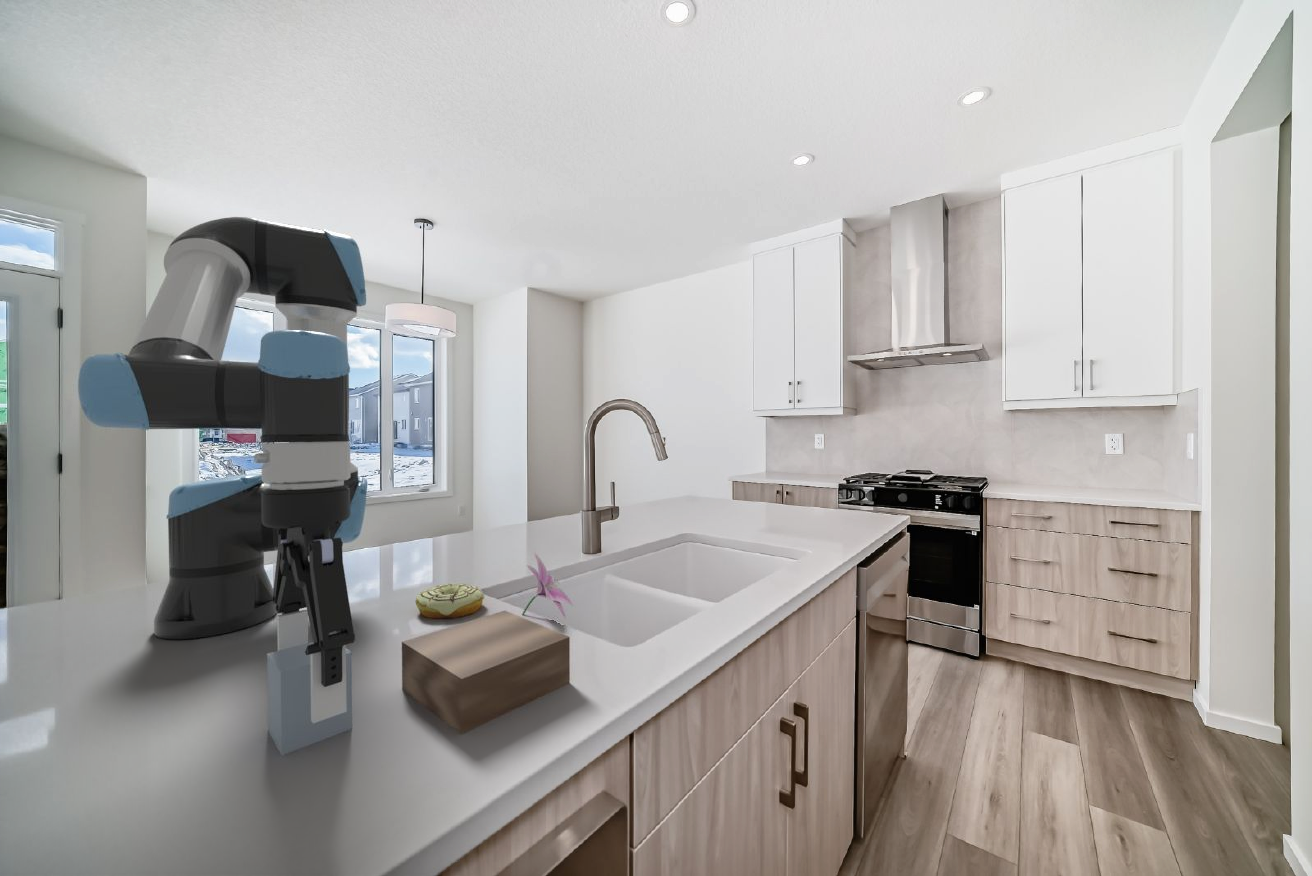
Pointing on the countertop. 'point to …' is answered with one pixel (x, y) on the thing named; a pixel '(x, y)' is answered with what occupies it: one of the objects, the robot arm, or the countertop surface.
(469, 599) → the decorated donut
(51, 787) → the countertop surface
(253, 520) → the robot arm
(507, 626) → the walnut block
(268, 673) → the slate block
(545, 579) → the lily
